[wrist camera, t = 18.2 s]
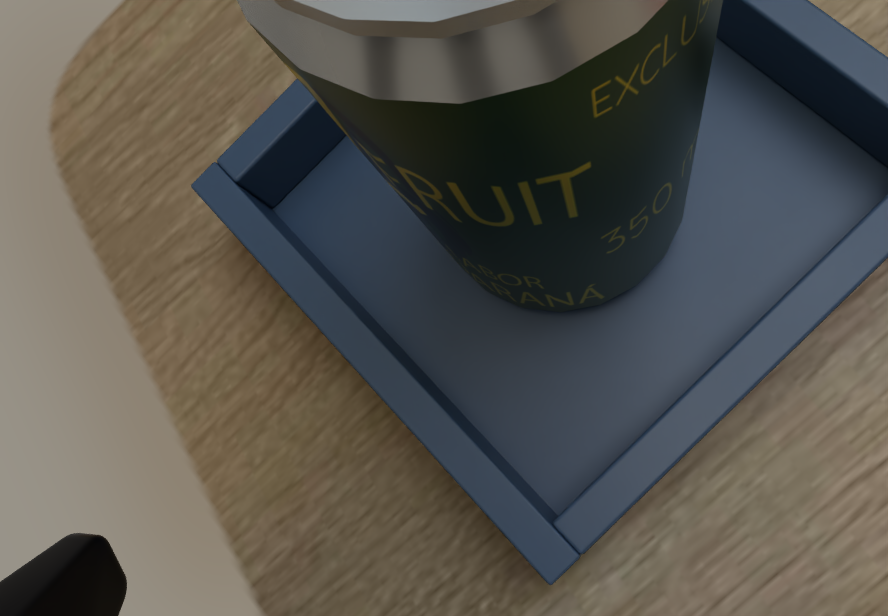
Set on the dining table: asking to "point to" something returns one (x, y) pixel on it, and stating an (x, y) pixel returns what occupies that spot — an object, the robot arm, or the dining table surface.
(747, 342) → the tray
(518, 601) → the dining table surface
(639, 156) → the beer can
